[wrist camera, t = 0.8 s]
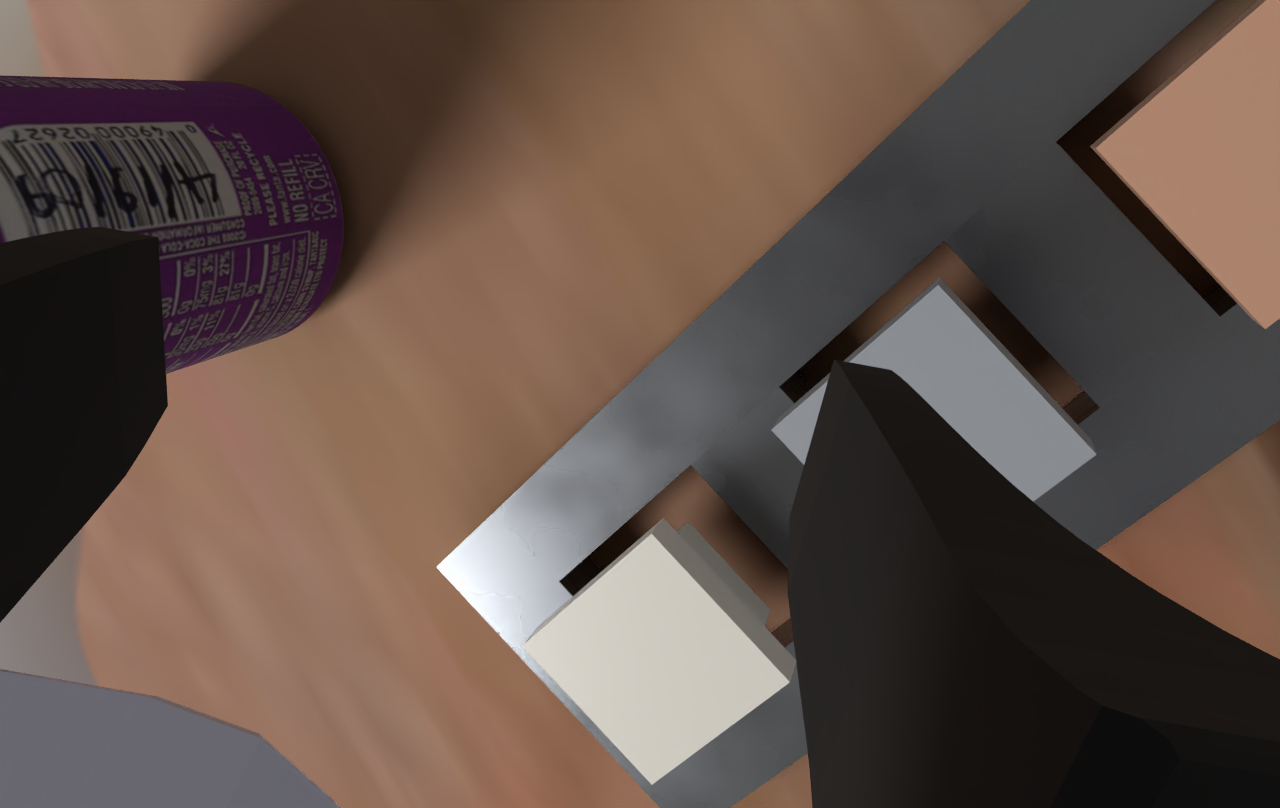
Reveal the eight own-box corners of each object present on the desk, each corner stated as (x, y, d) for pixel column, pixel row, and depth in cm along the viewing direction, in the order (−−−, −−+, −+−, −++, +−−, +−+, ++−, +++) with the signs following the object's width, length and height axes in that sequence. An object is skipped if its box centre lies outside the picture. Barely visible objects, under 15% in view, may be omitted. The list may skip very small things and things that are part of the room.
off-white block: (810, 615, 27) (789, 682, 24) (686, 709, 29) (651, 785, 26) (688, 483, 27) (651, 533, 24) (571, 586, 29) (522, 645, 26)
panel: (1612, 141, 22) (1671, 144, 20) (704, 794, 32) (687, 837, 30) (1268, -223, 22) (1296, -254, 20) (467, 540, 32) (436, 566, 30)
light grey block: (1080, 409, 24) (1097, 454, 21) (924, 528, 26) (917, 586, 23) (942, 261, 24) (938, 284, 21) (795, 390, 26) (770, 429, 23)
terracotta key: (1425, 143, 21) (1505, 151, 18) (1225, 298, 23) (1265, 329, 20) (1268, -24, 21) (1319, -47, 18) (1078, 142, 23) (1095, 148, 20)
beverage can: (157, 50, 31) (-305, 19, 20) (381, 126, 29) (23, 139, 18) (126, 290, 33) (-303, 383, 22) (332, 370, 32) (-12, 513, 21)
